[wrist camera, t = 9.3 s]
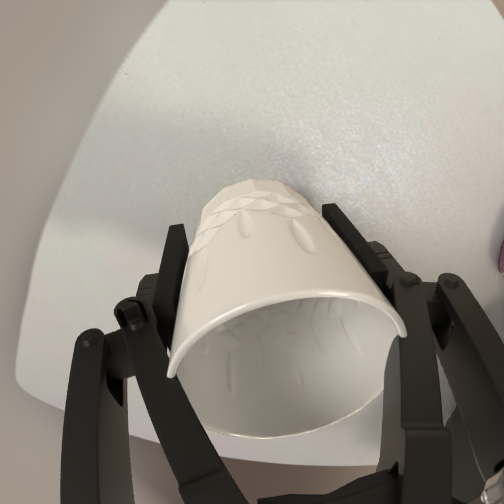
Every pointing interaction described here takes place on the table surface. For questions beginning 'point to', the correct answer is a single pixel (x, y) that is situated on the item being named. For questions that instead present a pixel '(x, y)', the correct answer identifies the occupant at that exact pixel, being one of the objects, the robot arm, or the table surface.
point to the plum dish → (502, 259)
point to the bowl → (464, 464)
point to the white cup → (276, 318)
